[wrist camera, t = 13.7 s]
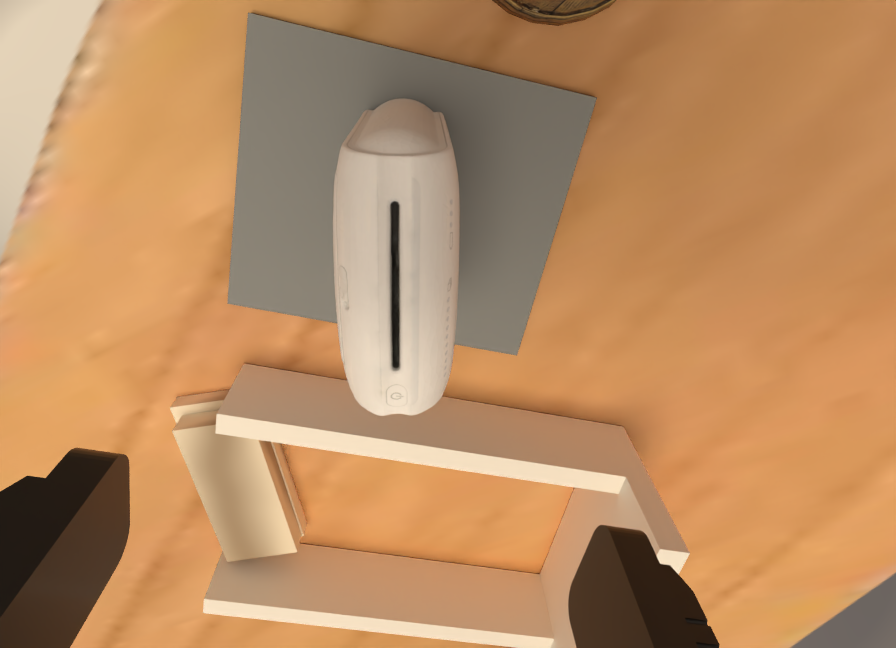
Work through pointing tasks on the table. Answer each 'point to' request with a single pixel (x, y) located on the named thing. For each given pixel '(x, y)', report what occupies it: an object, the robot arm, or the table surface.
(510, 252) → the mat
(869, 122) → the table surface
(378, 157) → the photo printer
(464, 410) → the rack
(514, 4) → the wooden mug
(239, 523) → the offcut stack
